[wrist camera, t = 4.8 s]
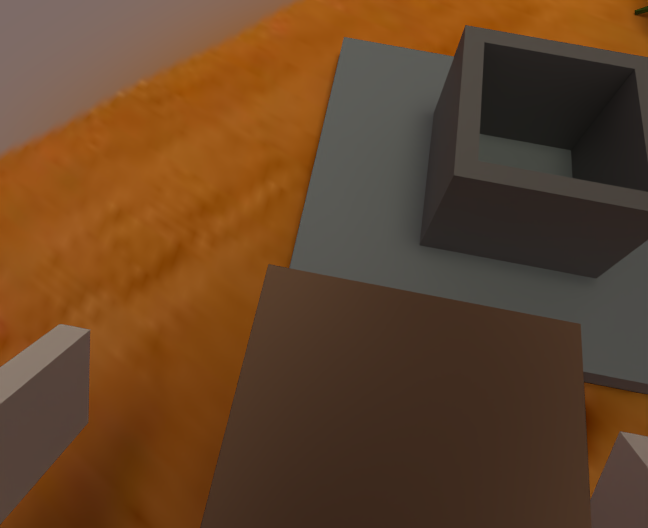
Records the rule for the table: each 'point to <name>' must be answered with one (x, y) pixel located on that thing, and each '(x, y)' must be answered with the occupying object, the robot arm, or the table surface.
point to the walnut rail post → (401, 414)
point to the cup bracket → (493, 184)
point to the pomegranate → (641, 10)
